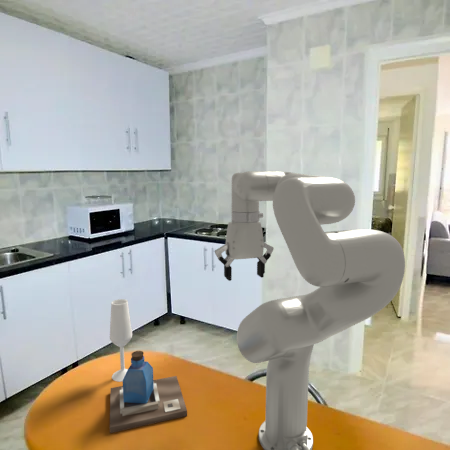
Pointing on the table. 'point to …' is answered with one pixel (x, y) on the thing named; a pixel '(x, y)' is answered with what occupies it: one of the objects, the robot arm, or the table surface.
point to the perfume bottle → (138, 380)
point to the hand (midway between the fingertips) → (244, 277)
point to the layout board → (147, 406)
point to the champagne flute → (120, 332)
